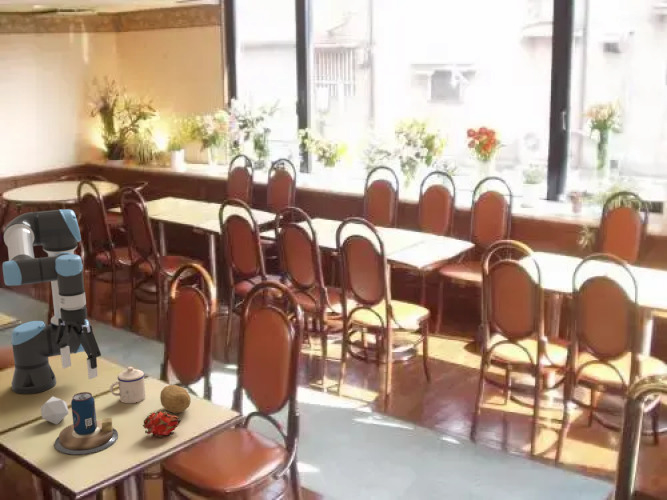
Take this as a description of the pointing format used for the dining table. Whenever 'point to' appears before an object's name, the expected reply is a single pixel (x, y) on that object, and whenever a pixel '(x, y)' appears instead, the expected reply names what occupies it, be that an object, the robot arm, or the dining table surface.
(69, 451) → the turntable base
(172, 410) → the potato
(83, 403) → the soda can
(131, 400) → the teacup with lid
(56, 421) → the die
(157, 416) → the dragon fruit
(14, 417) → the dining table surface
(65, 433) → the turntable
